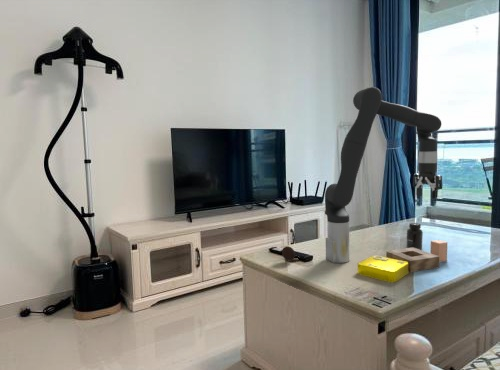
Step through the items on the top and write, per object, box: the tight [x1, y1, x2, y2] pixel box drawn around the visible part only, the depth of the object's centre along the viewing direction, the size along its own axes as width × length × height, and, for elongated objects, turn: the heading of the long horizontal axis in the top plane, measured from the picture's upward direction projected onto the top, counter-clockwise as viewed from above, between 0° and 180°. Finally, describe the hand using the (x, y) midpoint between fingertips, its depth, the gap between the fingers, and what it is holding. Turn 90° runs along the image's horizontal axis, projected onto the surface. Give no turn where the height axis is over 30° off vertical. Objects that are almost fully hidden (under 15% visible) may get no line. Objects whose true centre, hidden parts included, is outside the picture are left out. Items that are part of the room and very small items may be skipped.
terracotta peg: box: [429, 239, 448, 263], centre depth 150 cm, size 4×4×8 cm
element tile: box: [357, 254, 409, 283], centre depth 138 cm, size 15×15×5 cm
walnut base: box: [385, 247, 440, 273], centre depth 146 cm, size 14×14×4 cm
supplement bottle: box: [405, 222, 424, 250], centre depth 167 cm, size 7×7×12 cm
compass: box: [281, 245, 300, 263], centre depth 156 cm, size 8×8×7 cm
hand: (426, 197), depth 160 cm, fingers open, 8 cm apart
